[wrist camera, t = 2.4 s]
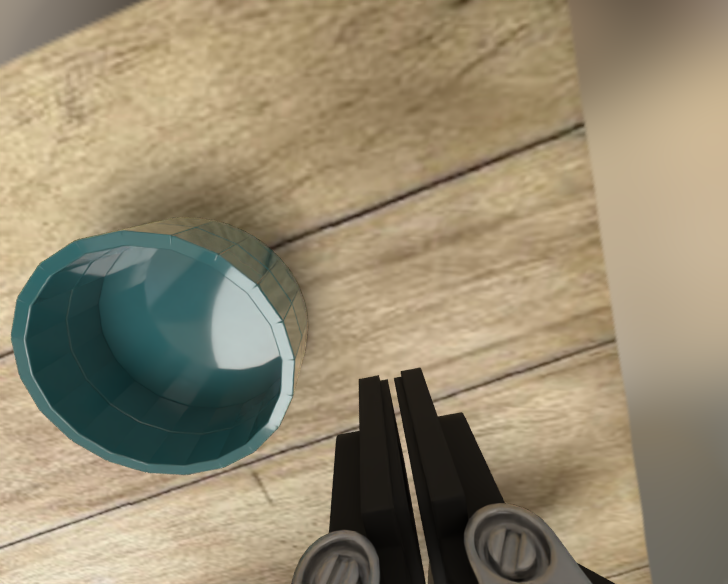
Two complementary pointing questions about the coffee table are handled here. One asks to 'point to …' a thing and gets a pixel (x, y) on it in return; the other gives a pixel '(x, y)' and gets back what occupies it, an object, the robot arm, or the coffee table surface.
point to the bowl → (163, 344)
